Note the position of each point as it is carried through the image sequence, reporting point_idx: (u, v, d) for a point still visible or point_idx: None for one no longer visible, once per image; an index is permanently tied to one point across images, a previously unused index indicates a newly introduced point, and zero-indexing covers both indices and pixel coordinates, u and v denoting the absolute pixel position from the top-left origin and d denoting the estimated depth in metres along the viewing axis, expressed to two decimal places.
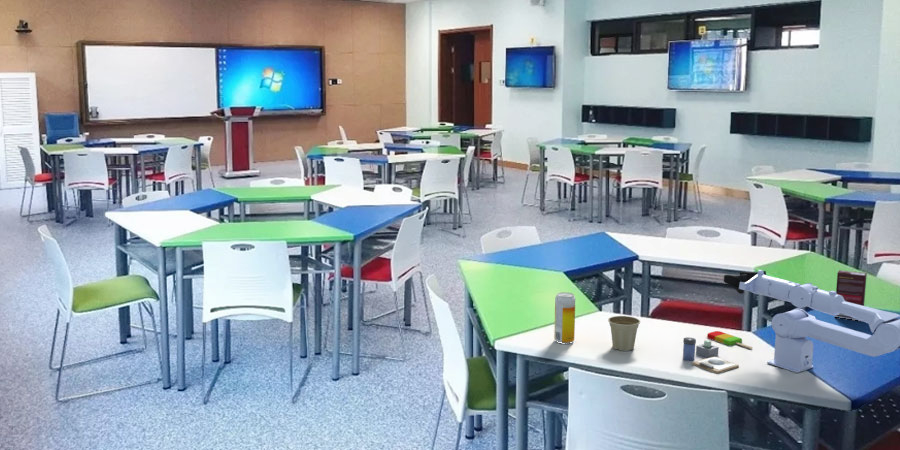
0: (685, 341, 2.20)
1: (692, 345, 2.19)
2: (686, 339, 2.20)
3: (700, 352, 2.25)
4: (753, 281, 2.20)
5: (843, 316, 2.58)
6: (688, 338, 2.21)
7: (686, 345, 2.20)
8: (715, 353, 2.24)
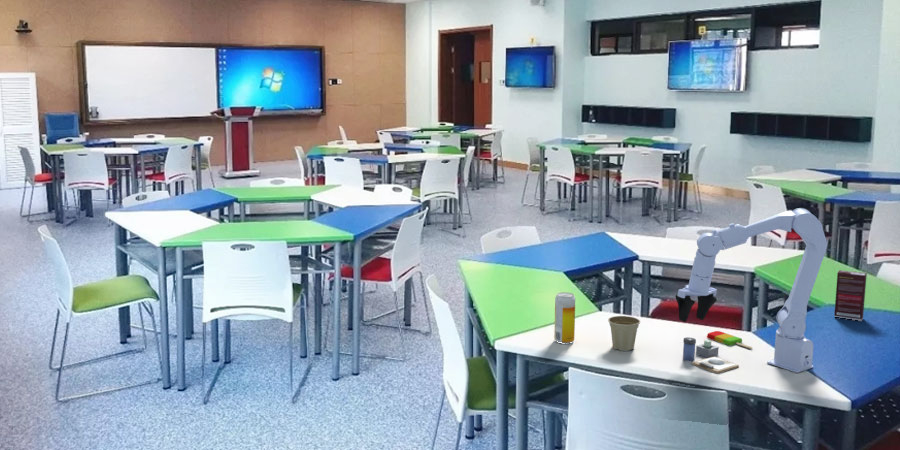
0: (685, 341, 2.20)
1: (692, 345, 2.19)
2: (686, 339, 2.20)
3: (700, 352, 2.25)
4: (688, 289, 2.19)
5: (843, 316, 2.58)
6: (688, 338, 2.21)
7: (686, 345, 2.20)
8: (715, 353, 2.24)
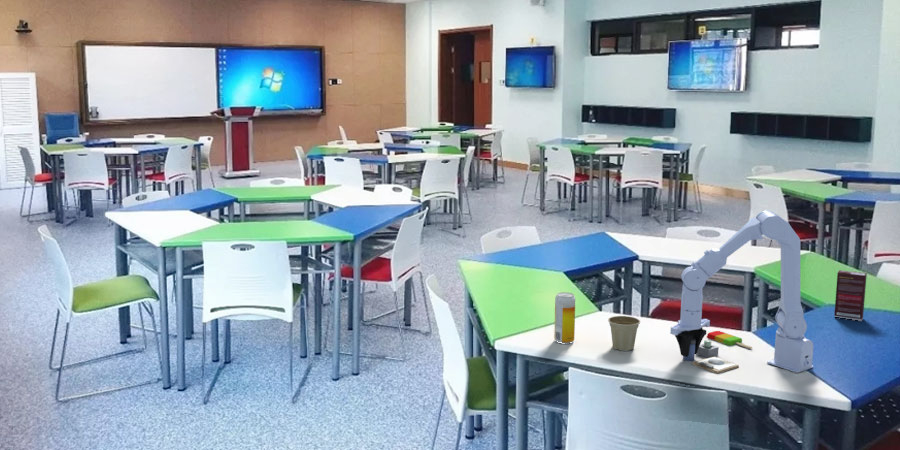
0: None
1: (692, 345, 2.19)
2: None
3: (700, 352, 2.25)
4: (680, 325, 2.19)
5: (843, 316, 2.58)
6: None
7: None
8: (715, 353, 2.24)
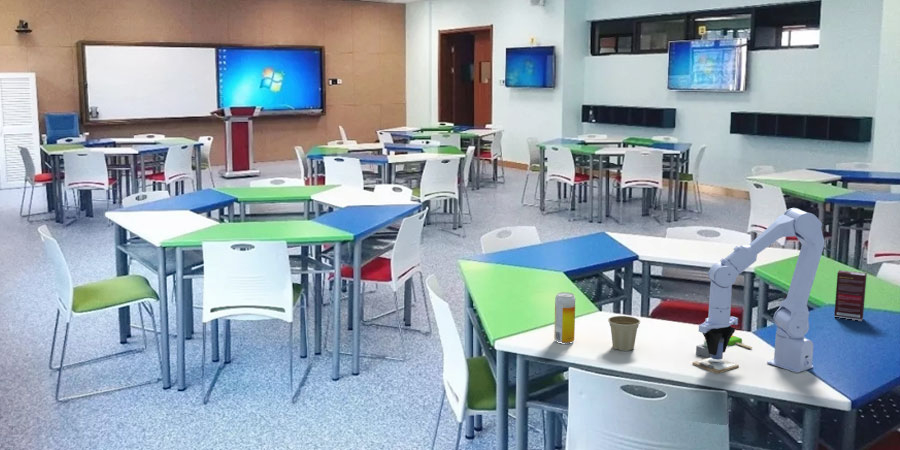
0: None
1: (721, 343, 2.14)
2: None
3: (700, 352, 2.25)
4: (708, 323, 2.14)
5: (843, 316, 2.58)
6: None
7: None
8: None
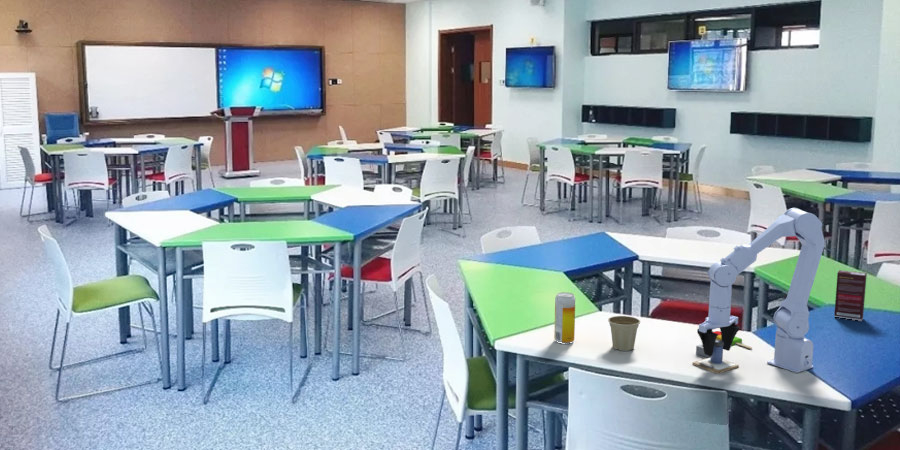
0: None
1: (720, 347, 2.15)
2: None
3: (700, 352, 2.25)
4: (708, 322, 2.14)
5: (843, 316, 2.58)
6: (716, 340, 2.16)
7: (714, 347, 2.15)
8: None
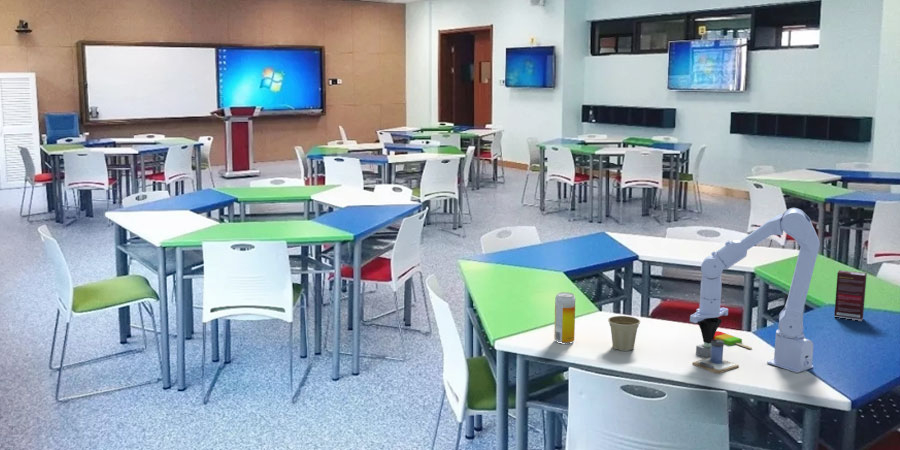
0: (713, 343, 2.15)
1: (721, 347, 2.15)
2: (714, 341, 2.16)
3: (700, 352, 2.25)
4: (699, 313, 2.22)
5: (843, 316, 2.58)
6: (716, 340, 2.16)
7: (714, 347, 2.15)
8: None
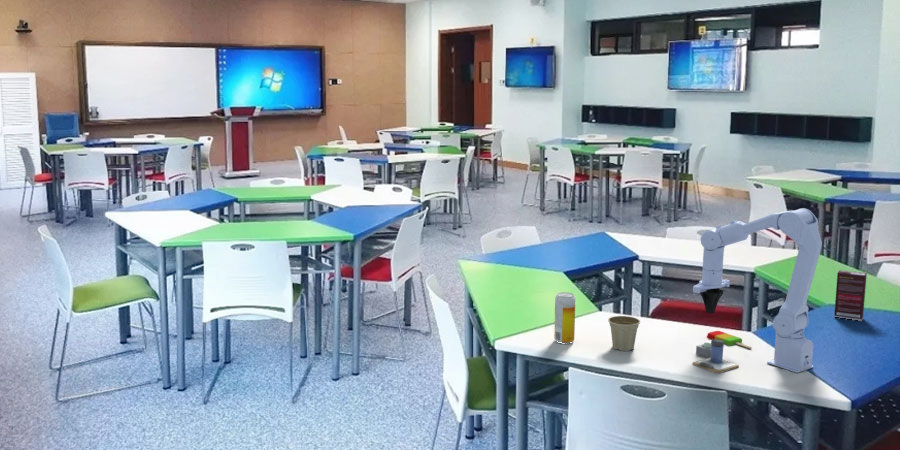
0: (713, 343, 2.15)
1: (720, 347, 2.15)
2: (714, 341, 2.16)
3: (700, 352, 2.25)
4: (702, 285, 2.30)
5: (843, 316, 2.58)
6: (716, 340, 2.16)
7: (714, 347, 2.15)
8: None
